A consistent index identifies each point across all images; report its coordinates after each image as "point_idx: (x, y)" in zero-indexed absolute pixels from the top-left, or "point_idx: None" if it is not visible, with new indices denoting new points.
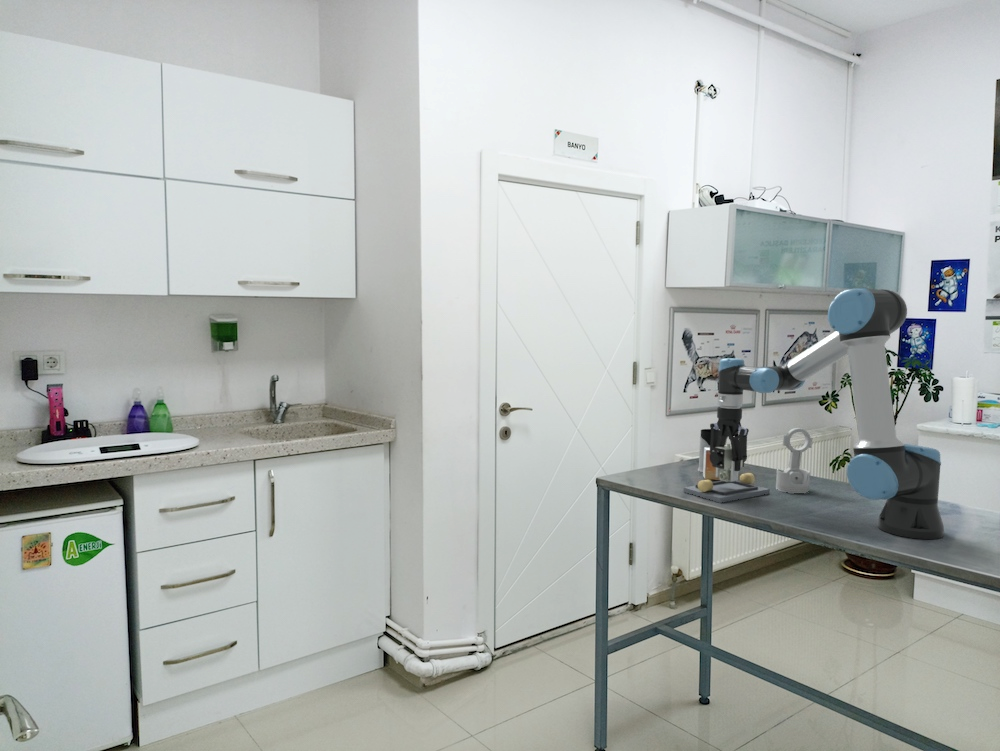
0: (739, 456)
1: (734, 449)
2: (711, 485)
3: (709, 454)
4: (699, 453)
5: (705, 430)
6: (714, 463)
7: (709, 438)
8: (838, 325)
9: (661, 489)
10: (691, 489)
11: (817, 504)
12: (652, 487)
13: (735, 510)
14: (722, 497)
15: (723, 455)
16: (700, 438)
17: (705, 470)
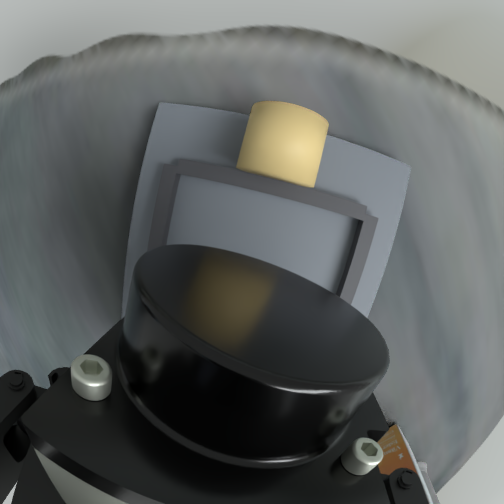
0: (9, 393)
1: (26, 477)
2: (240, 150)
3: None
4: (437, 498)
5: None
6: (262, 267)
7: None
8: None
9: (471, 154)
10: (364, 152)
11: (18, 347)
12: (497, 164)
13: (90, 76)
14: (156, 120)
15: (90, 354)
16: None
17: (405, 446)
